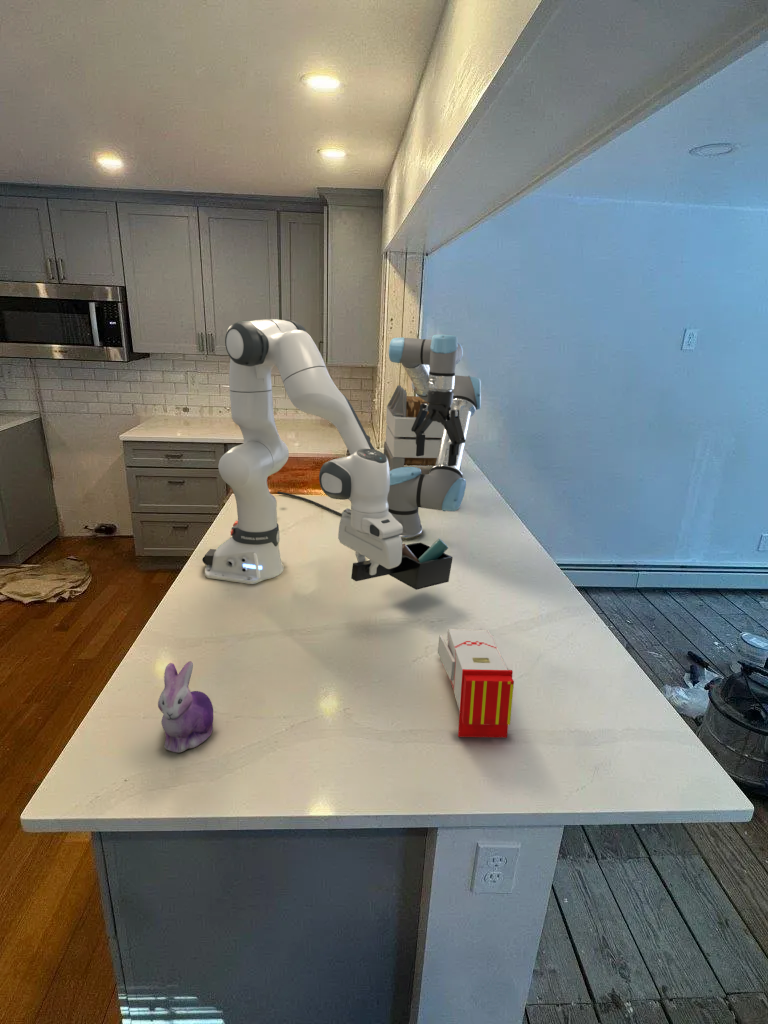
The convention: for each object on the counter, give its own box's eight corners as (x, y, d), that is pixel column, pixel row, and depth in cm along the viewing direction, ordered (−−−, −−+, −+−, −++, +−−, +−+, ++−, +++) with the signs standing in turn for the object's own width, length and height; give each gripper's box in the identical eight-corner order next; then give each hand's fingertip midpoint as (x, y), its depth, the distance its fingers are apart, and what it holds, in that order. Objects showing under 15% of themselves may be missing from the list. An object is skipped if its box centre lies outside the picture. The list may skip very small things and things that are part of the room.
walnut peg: (410, 575, 152) (392, 553, 150) (417, 565, 154) (399, 544, 152) (418, 574, 149) (399, 552, 147) (425, 564, 151) (407, 542, 149)
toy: (488, 613, 130) (523, 677, 101) (484, 667, 133) (517, 744, 104) (435, 612, 130) (455, 676, 101) (432, 666, 133) (451, 743, 103)
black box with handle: (337, 582, 141) (340, 555, 140) (417, 565, 160) (420, 542, 158) (367, 601, 133) (371, 573, 131) (448, 581, 151) (452, 557, 149)
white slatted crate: (382, 463, 289) (386, 382, 275) (445, 464, 293) (451, 384, 279) (390, 482, 257) (394, 392, 243) (460, 483, 261) (468, 394, 247)
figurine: (165, 763, 97) (157, 690, 92) (158, 725, 105) (150, 656, 100) (221, 746, 101) (217, 675, 96) (210, 711, 109) (205, 644, 104)
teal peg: (415, 557, 151) (437, 536, 150) (422, 562, 154) (443, 541, 153) (422, 565, 149) (444, 544, 148) (429, 570, 151) (450, 549, 150)
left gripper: (332, 508, 139) (331, 559, 144) (387, 534, 125) (384, 590, 129) (353, 503, 143) (351, 554, 148) (408, 528, 129) (404, 583, 133)
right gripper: (402, 385, 172) (398, 453, 179) (464, 396, 154) (457, 471, 162) (420, 383, 177) (416, 450, 184) (482, 395, 159) (474, 468, 166)
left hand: (367, 571), depth 139 cm, fingers closed on black box with handle
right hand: (435, 460), depth 173 cm, fingers open, 13 cm apart
